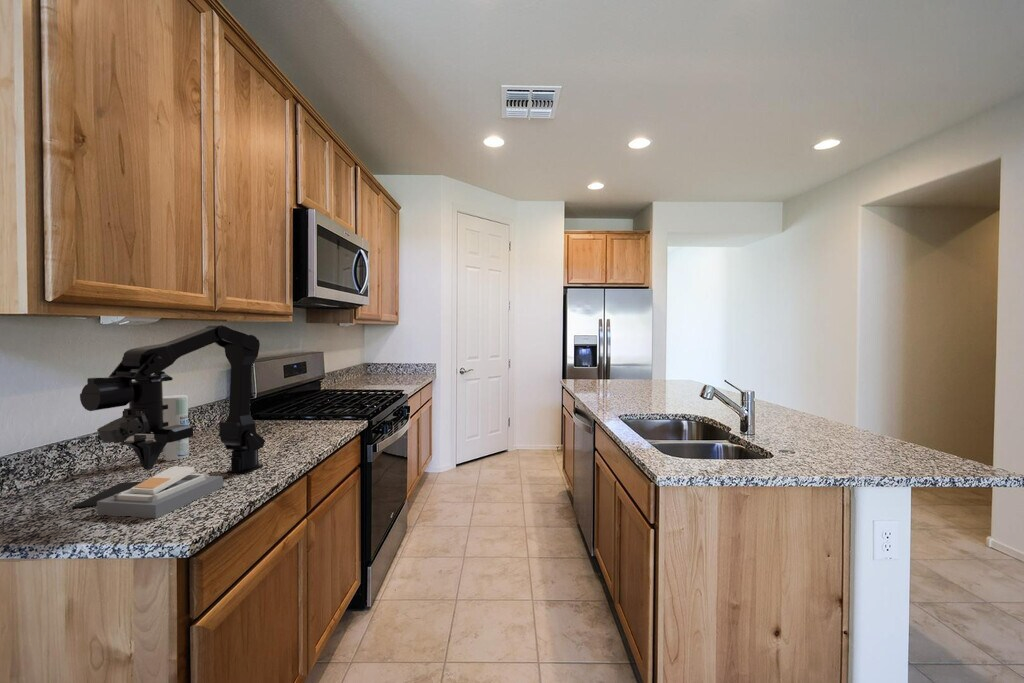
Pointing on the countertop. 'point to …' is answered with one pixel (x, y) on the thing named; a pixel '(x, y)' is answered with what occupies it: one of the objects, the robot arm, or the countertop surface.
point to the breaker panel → (160, 498)
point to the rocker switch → (162, 480)
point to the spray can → (176, 416)
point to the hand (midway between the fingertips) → (148, 469)
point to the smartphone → (106, 494)
